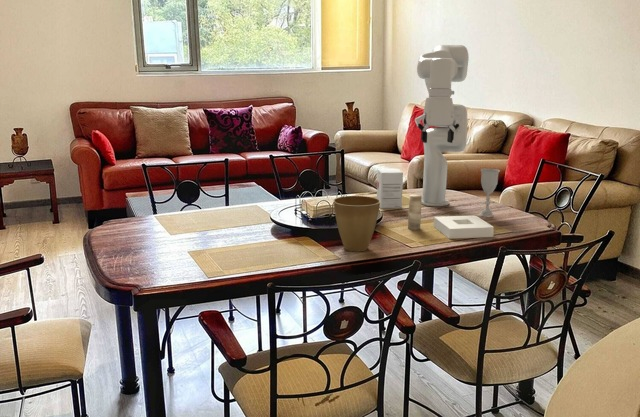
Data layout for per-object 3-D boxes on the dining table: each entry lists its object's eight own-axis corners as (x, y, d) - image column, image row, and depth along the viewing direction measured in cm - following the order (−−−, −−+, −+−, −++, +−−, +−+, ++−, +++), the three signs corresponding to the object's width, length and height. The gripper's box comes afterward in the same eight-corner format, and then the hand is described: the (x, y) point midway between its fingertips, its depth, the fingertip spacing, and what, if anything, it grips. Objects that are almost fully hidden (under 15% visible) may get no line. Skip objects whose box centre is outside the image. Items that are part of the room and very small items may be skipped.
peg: (406, 226, 228) (407, 194, 225) (417, 226, 229) (419, 194, 226) (409, 230, 224) (411, 197, 221) (421, 229, 225) (423, 197, 222)
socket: (433, 226, 230) (433, 216, 229) (474, 224, 232) (475, 215, 231) (449, 238, 214) (449, 228, 213) (493, 236, 217) (493, 227, 216)
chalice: (494, 213, 248) (498, 168, 244) (497, 217, 242) (501, 172, 237) (475, 212, 249) (479, 168, 244) (478, 217, 242) (481, 171, 238)
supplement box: (375, 203, 263) (377, 168, 259) (396, 203, 264) (398, 168, 260) (380, 208, 254) (381, 172, 250) (401, 208, 255) (403, 172, 251)
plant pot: (388, 248, 204) (389, 200, 200) (358, 258, 193) (360, 208, 189) (352, 238, 213) (353, 192, 209) (323, 248, 203) (323, 200, 199)
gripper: (458, 93, 226) (455, 141, 230) (412, 93, 223) (410, 141, 227) (467, 94, 219) (464, 143, 223) (420, 93, 216) (417, 143, 219)
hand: (437, 142), depth 225 cm, fingers open, 9 cm apart
